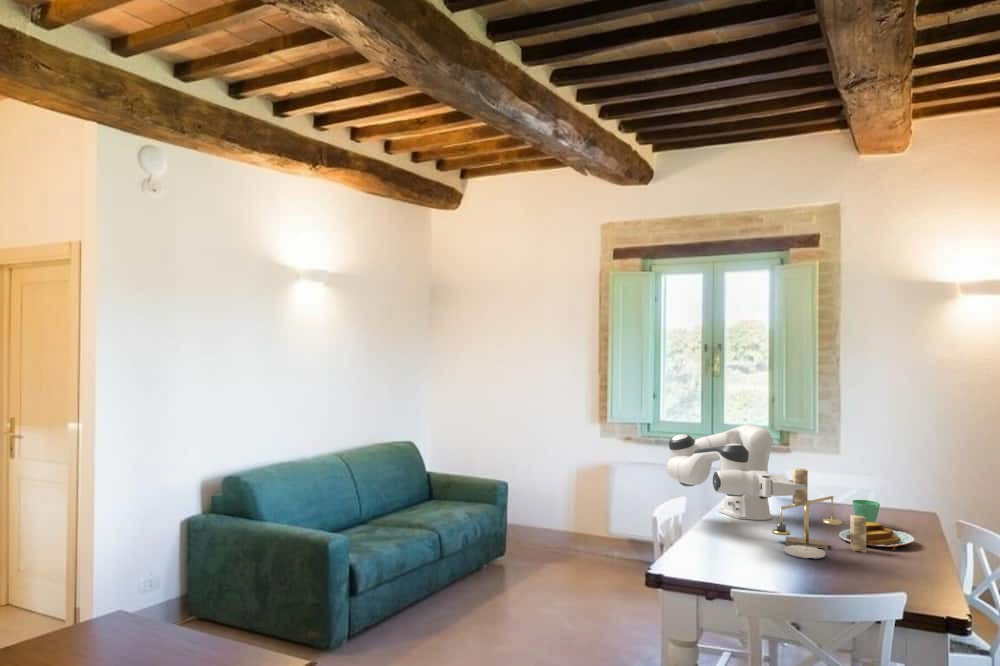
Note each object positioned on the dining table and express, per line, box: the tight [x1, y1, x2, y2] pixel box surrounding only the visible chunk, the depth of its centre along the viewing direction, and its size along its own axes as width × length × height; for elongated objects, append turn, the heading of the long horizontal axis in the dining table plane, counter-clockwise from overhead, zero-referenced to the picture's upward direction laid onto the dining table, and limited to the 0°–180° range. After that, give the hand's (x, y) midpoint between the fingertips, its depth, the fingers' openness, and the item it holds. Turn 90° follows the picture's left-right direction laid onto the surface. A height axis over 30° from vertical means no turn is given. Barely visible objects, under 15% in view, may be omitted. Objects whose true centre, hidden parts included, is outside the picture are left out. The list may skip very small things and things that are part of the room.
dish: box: [784, 545, 826, 559], centre depth 248 cm, size 13×13×2 cm
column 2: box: [849, 514, 867, 553], centre depth 254 cm, size 4×4×12 cm
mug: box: [852, 499, 881, 523], centre depth 292 cm, size 15×10×10 cm
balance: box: [771, 495, 843, 550], centre depth 261 cm, size 24×7×19 cm, turn 67°
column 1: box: [792, 468, 809, 506], centre depth 249 cm, size 4×4×12 cm
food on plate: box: [838, 521, 915, 551], centre depth 267 cm, size 25×25×7 cm
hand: (803, 485), depth 249 cm, fingers closed on column 1, 4 cm apart
